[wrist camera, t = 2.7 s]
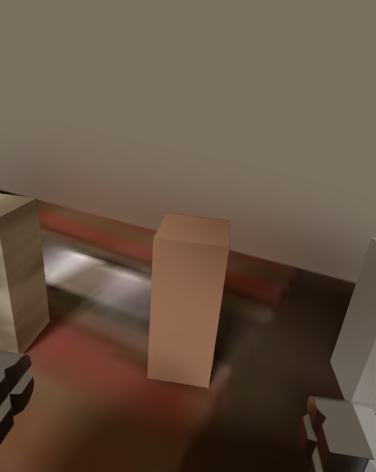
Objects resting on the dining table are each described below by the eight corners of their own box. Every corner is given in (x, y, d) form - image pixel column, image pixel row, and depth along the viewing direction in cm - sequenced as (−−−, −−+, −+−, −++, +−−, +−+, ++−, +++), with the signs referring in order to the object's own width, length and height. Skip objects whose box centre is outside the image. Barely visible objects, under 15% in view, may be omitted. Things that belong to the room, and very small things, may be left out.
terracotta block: (147, 378, 23) (153, 237, 19) (159, 336, 27) (166, 213, 23) (208, 387, 23) (229, 246, 19) (211, 344, 27) (229, 220, 23)
